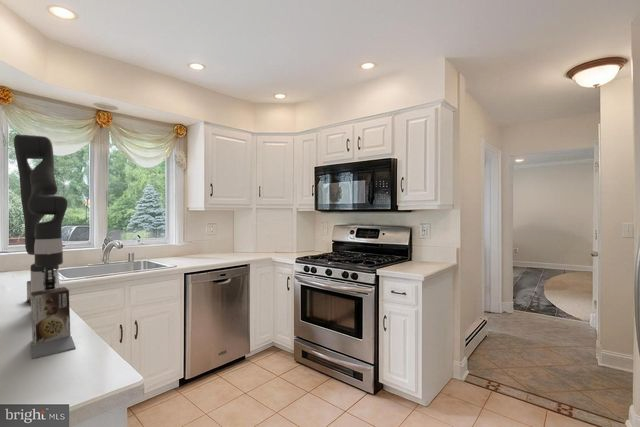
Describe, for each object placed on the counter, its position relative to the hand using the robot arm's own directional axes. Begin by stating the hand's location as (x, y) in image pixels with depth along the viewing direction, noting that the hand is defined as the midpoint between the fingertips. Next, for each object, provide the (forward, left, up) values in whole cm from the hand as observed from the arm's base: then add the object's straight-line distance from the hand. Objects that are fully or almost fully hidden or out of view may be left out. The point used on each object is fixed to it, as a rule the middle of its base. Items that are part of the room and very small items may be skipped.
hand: (49, 301), depth 111 cm
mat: (+16, 0, -11) cm, 20 cm away
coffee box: (+6, 0, -11) cm, 13 cm away
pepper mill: (-55, 0, -12) cm, 56 cm away
